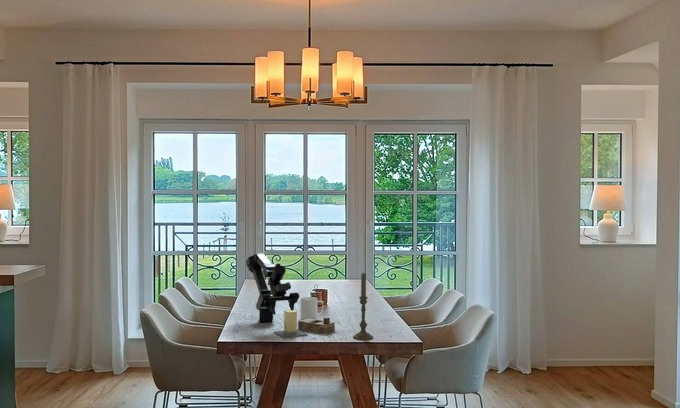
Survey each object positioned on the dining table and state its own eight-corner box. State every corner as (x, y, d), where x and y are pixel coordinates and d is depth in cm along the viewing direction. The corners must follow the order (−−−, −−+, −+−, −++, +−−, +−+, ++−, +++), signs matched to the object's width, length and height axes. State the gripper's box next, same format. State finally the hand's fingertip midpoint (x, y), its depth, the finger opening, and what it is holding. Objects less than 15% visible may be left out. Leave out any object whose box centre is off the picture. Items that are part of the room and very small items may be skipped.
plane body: (298, 329, 295) (298, 315, 295) (308, 326, 301) (308, 313, 301) (324, 333, 285) (324, 319, 285) (334, 330, 292) (334, 317, 292)
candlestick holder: (372, 335, 282) (372, 270, 282) (374, 340, 273) (374, 273, 273) (352, 335, 282) (353, 270, 282) (353, 340, 273) (354, 272, 272)
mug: (299, 321, 314) (299, 299, 313) (300, 317, 322) (301, 296, 322) (323, 321, 314) (323, 299, 313) (323, 318, 322) (323, 297, 322)
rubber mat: (273, 332, 286) (273, 331, 286) (297, 330, 292) (297, 329, 292) (283, 338, 275) (283, 336, 275) (307, 335, 281) (307, 334, 281)
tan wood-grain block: (284, 332, 284) (284, 311, 284) (294, 331, 286) (294, 310, 286) (286, 334, 281) (286, 312, 281) (296, 333, 283) (296, 311, 283)
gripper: (262, 277, 291) (270, 305, 281) (298, 275, 299) (307, 302, 289) (256, 291, 298) (263, 318, 288) (291, 289, 306) (300, 315, 297)
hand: (284, 313), depth 290 cm, fingers open, 9 cm apart
